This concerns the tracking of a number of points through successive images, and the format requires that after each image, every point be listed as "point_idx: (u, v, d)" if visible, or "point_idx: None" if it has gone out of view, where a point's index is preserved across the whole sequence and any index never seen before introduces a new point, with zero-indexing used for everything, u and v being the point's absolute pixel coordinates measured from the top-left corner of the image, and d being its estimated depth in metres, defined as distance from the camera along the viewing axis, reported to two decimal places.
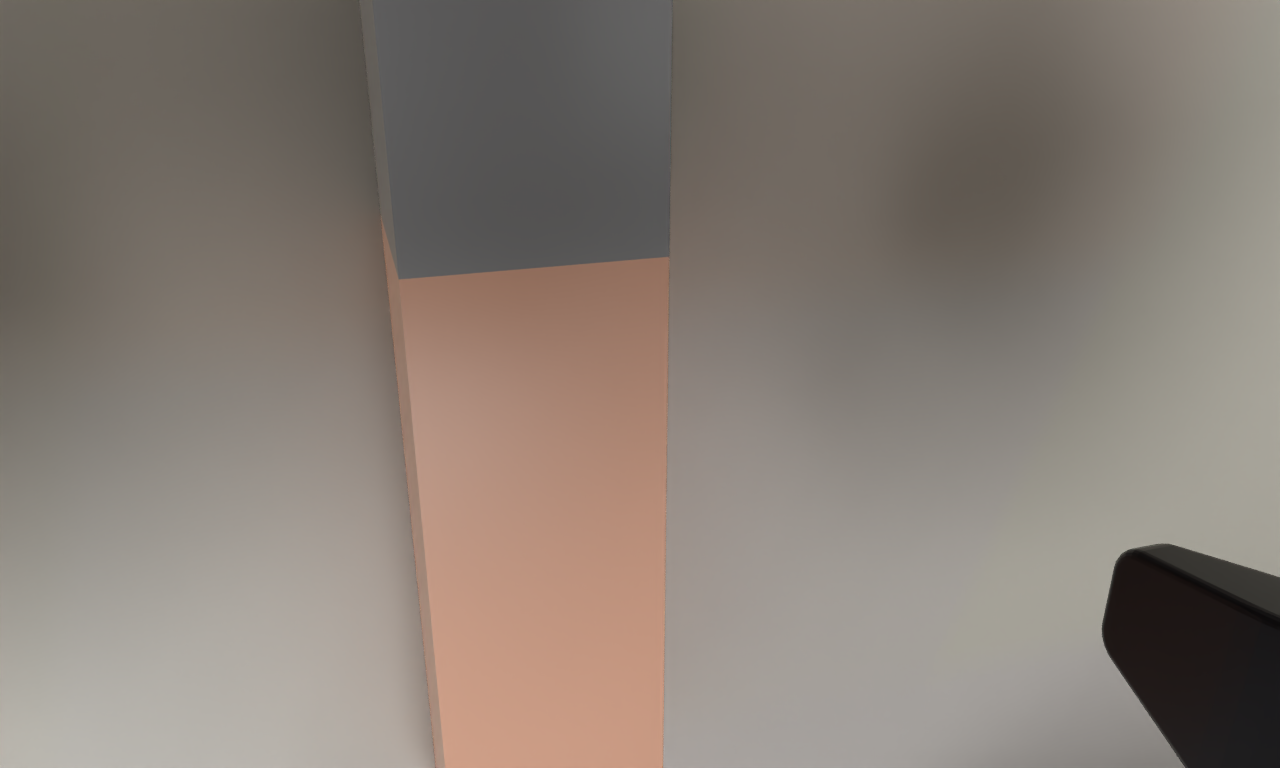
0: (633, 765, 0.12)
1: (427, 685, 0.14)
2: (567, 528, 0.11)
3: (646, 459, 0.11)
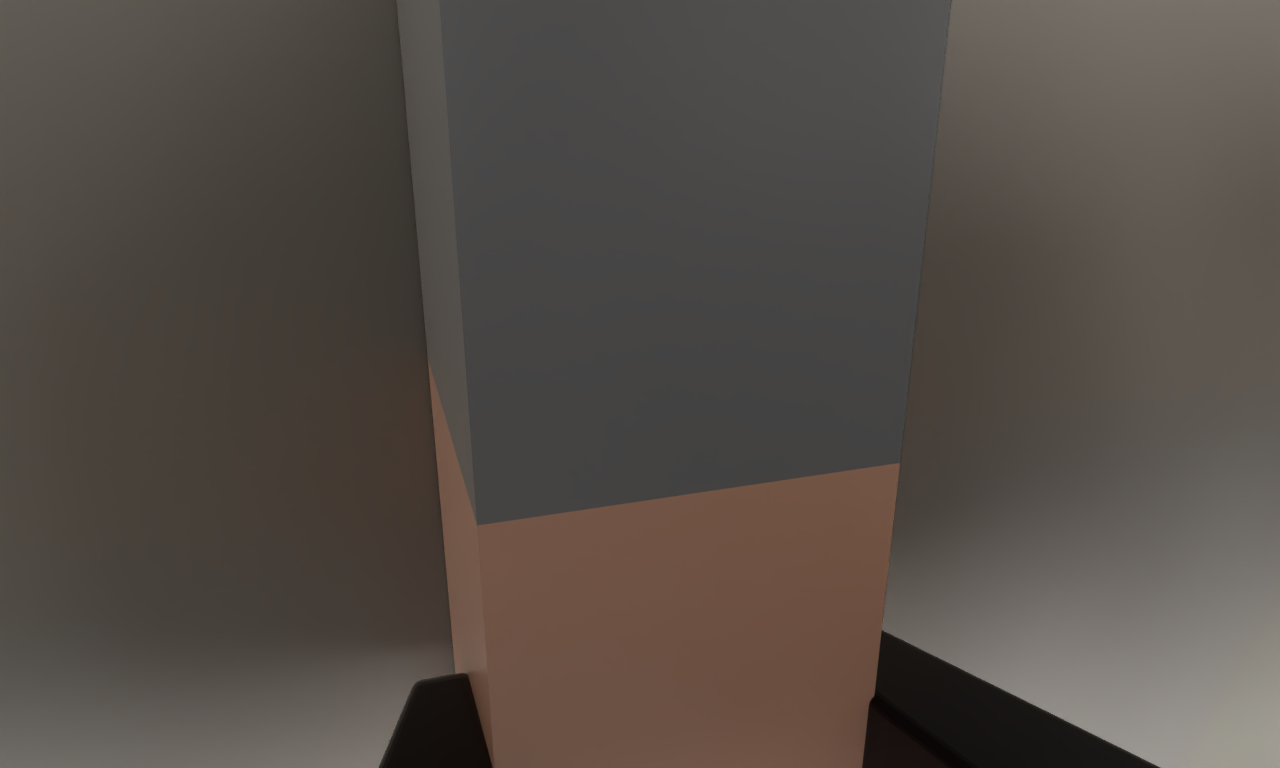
0: None
1: None
2: None
3: (839, 749, 0.07)
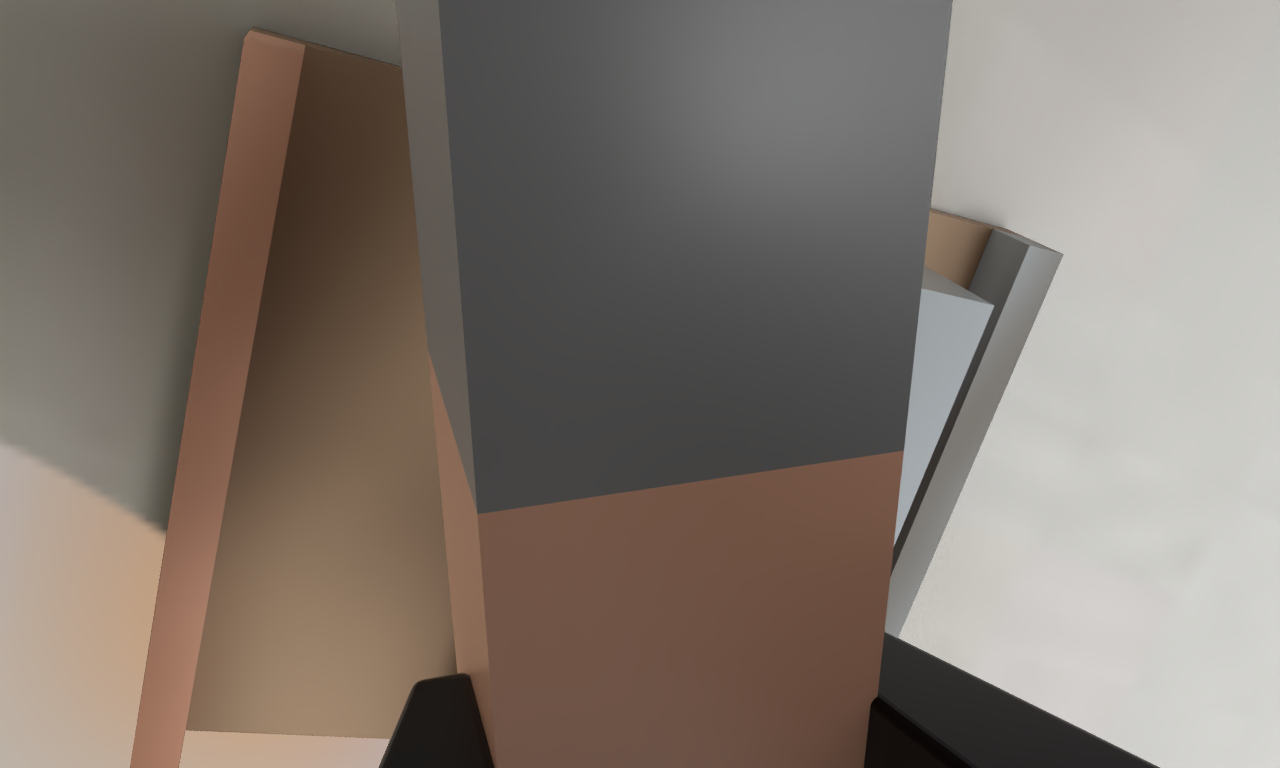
0: None
1: None
2: None
3: (843, 740, 0.07)
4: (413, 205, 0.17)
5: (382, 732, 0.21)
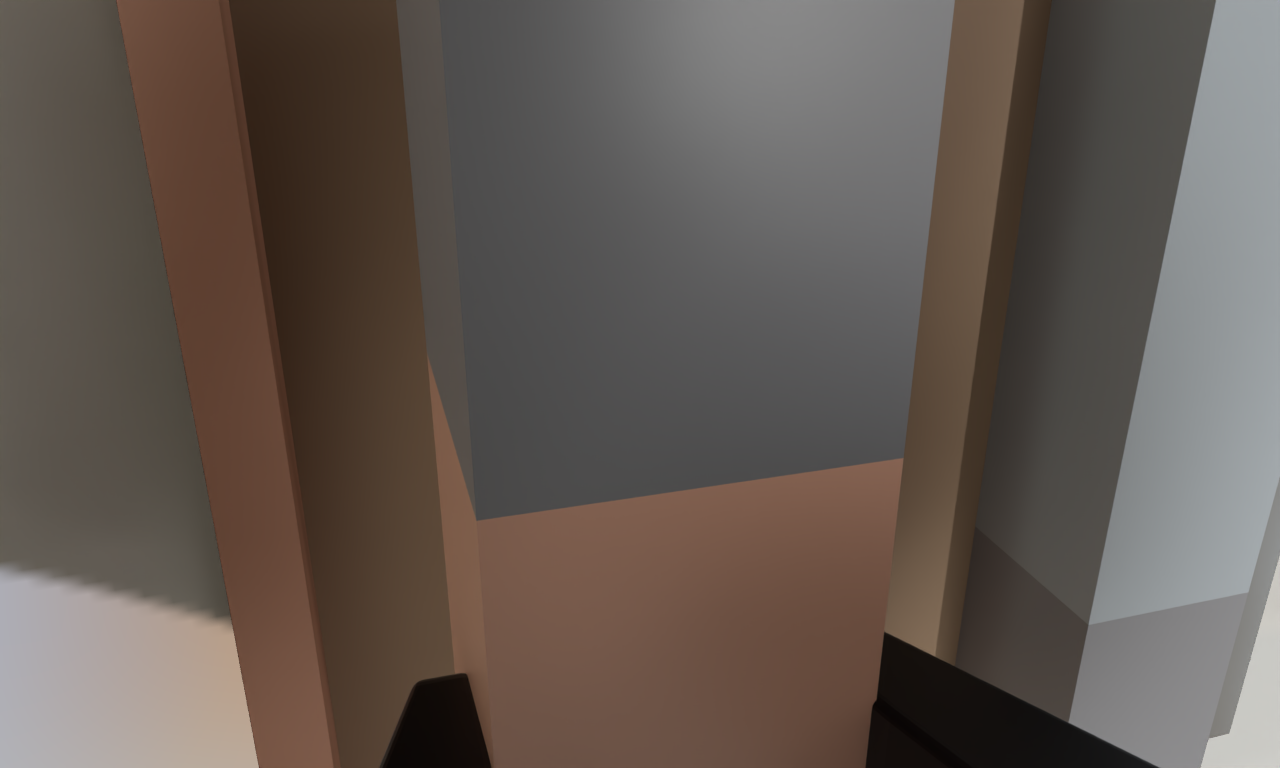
0: None
1: None
2: None
3: (842, 747, 0.07)
4: None
5: None
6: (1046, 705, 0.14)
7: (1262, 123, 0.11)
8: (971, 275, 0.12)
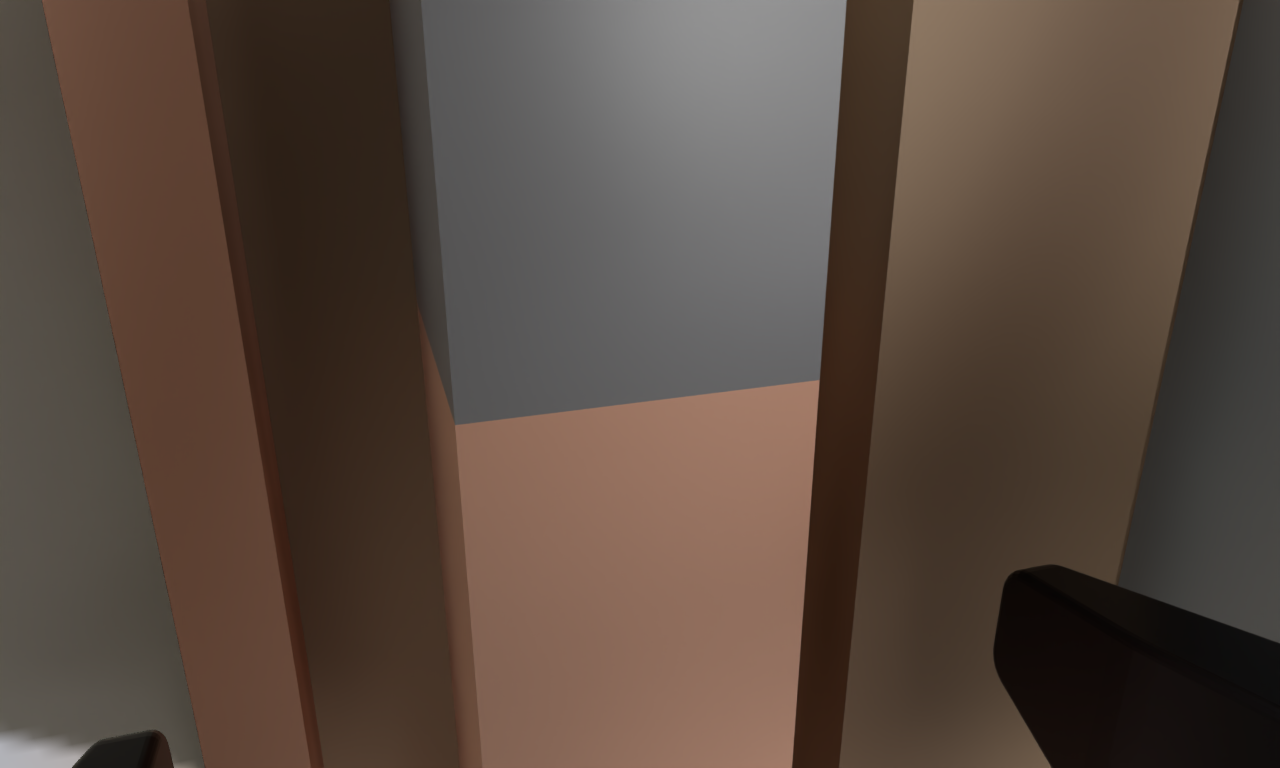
0: None
1: None
2: (669, 729, 0.08)
3: (775, 638, 0.08)
4: None
5: None
6: None
7: None
8: (1145, 356, 0.10)
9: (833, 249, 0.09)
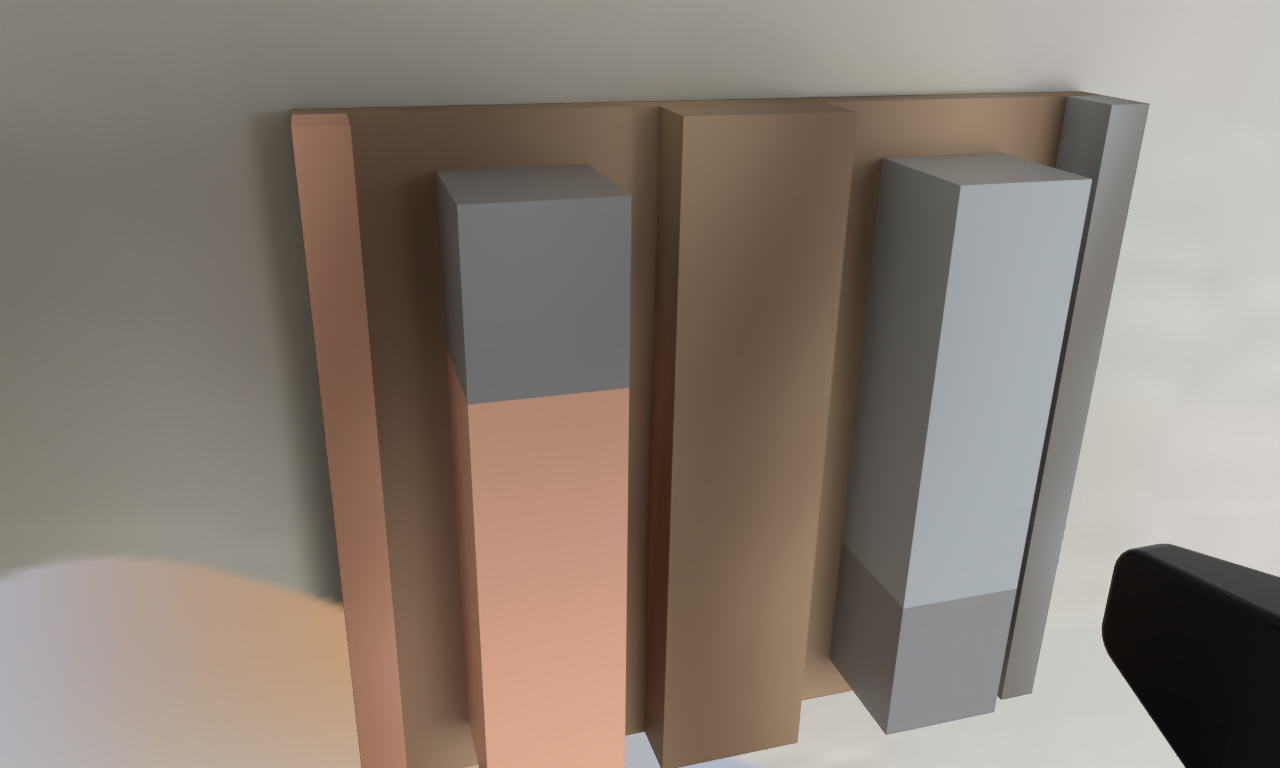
0: (605, 708, 0.18)
1: (465, 657, 0.20)
2: (565, 552, 0.17)
3: (614, 509, 0.17)
4: None
5: None
6: (882, 664, 0.21)
7: (993, 292, 0.17)
8: (821, 378, 0.19)
9: (658, 321, 0.18)
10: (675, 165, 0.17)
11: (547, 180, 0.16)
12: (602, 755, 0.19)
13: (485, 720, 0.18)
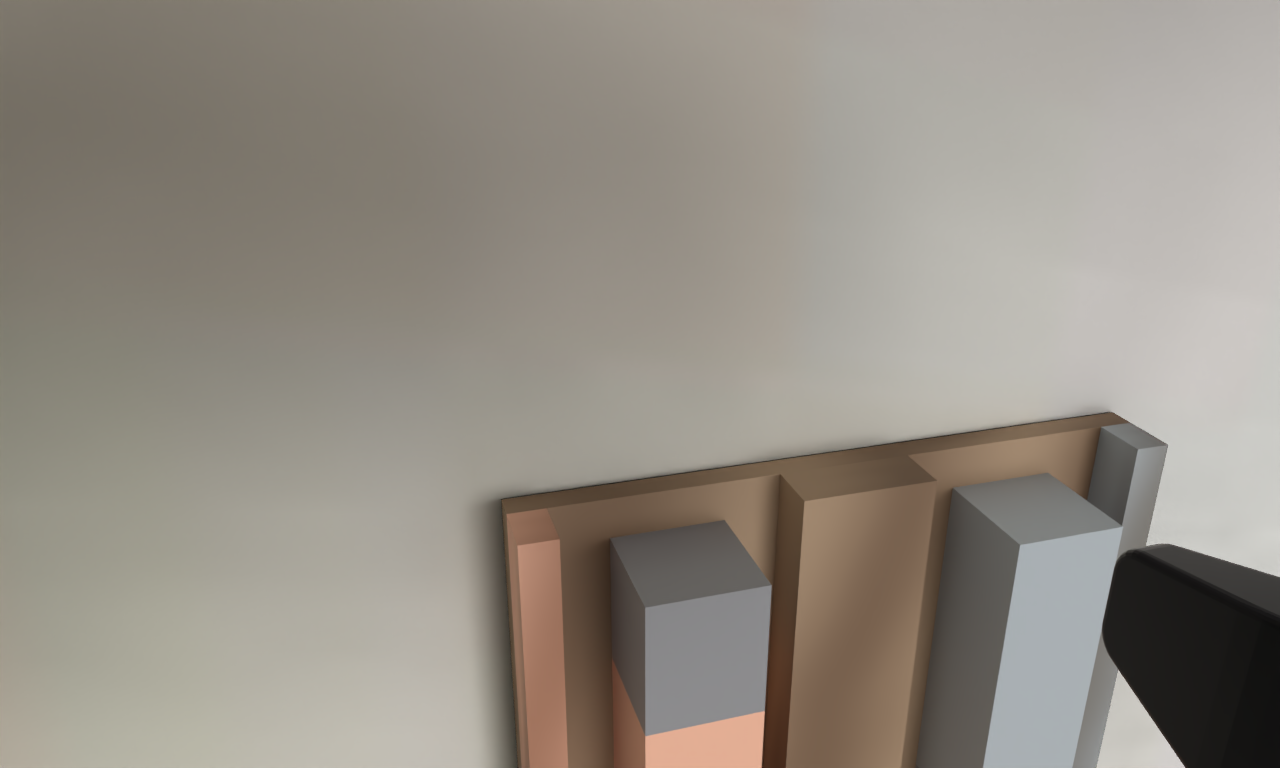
0: None
1: None
2: None
3: None
4: None
5: None
6: None
7: (1045, 612, 0.22)
8: (905, 665, 0.23)
9: (775, 625, 0.23)
10: (795, 528, 0.21)
11: (700, 554, 0.21)
12: None
13: None
